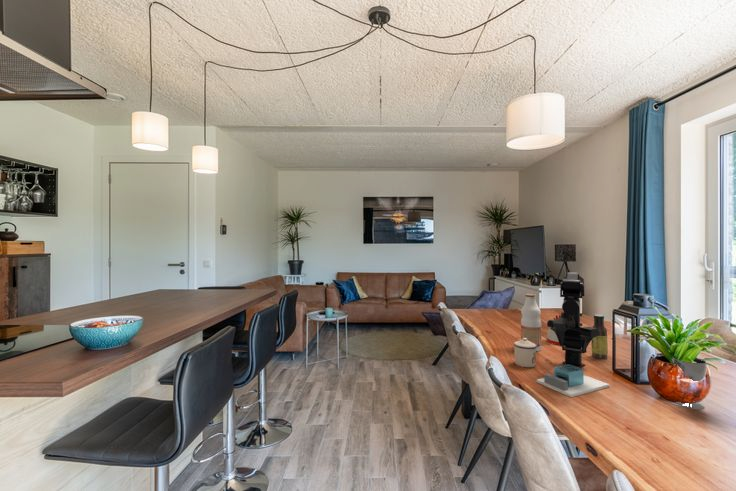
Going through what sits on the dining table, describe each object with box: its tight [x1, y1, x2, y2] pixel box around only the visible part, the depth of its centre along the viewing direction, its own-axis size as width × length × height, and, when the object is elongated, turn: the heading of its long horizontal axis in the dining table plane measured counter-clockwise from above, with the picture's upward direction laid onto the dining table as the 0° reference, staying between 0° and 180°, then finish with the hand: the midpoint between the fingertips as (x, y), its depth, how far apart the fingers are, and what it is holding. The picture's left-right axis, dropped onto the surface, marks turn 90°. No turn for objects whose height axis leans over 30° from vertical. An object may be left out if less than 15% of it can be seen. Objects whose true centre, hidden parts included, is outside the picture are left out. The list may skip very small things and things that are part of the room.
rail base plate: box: [536, 373, 610, 398], centre depth 125 cm, size 21×14×4 cm, turn 113°
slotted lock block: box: [553, 364, 585, 388], centre depth 124 cm, size 8×6×6 cm
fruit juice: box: [520, 293, 542, 352], centre depth 169 cm, size 9×9×28 cm
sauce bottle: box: [590, 313, 609, 360], centre depth 156 cm, size 6×6×20 cm
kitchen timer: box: [546, 314, 561, 346], centre depth 180 cm, size 14×14×15 cm
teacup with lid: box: [513, 338, 537, 368], centre depth 148 cm, size 12×9×12 cm
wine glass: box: [672, 356, 707, 411], centre depth 109 cm, size 8×8×15 cm
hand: (572, 348), depth 134 cm, fingers open, 9 cm apart
